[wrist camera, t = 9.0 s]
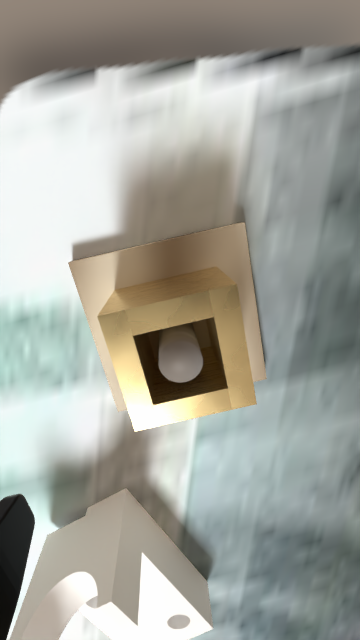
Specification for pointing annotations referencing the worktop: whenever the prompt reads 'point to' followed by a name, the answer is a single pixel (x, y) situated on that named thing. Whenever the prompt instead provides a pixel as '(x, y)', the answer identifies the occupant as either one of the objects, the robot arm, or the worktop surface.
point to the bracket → (115, 579)
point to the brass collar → (218, 359)
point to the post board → (162, 262)
